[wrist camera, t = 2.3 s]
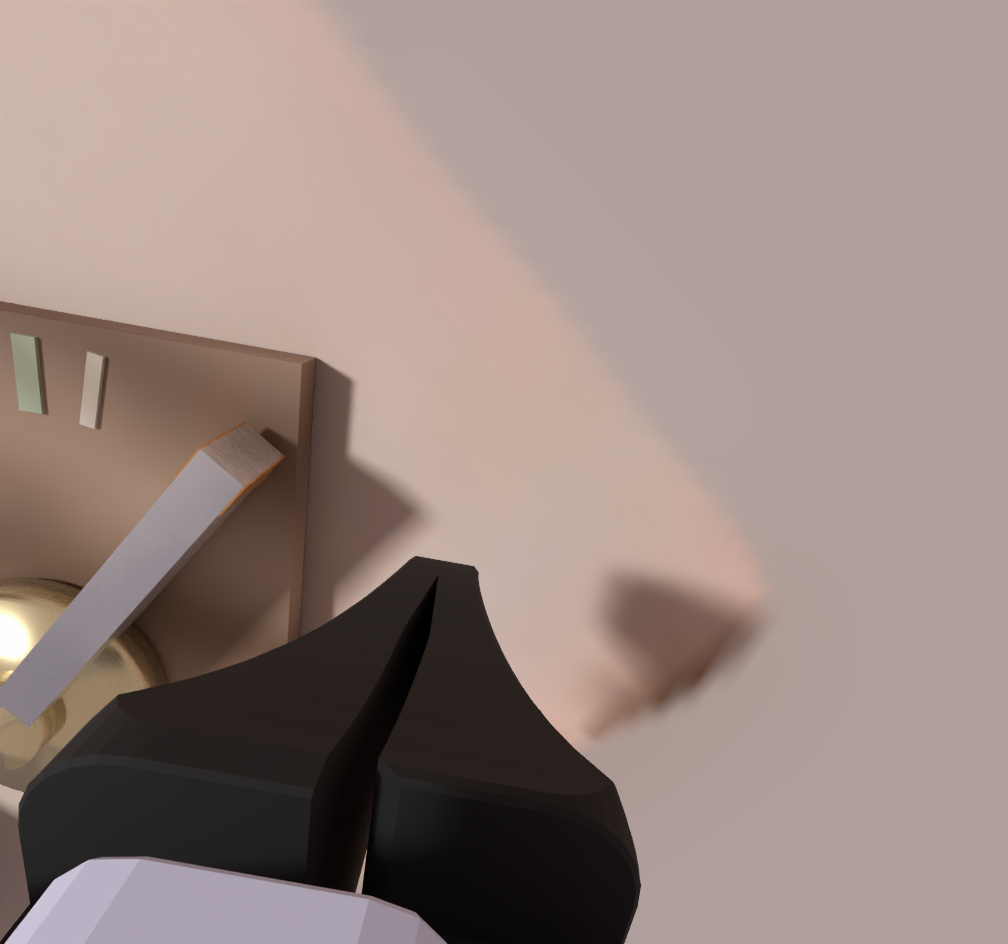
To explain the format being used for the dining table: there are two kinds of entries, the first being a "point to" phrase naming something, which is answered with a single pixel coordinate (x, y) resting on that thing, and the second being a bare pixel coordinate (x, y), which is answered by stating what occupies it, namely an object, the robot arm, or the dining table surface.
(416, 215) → the dining table surface
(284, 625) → the lever switch plate
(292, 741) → the robot arm
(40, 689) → the switch lever
